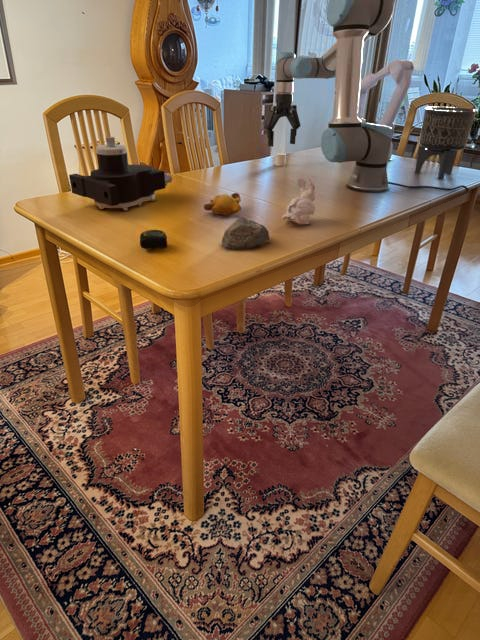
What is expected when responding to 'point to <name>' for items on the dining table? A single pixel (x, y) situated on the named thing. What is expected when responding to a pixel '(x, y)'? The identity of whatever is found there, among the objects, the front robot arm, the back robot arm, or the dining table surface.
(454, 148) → the planter
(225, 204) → the toy
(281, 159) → the canister
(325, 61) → the front robot arm
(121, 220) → the dining table surface
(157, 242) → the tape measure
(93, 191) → the mechanical component
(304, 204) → the figurine
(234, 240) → the rock
